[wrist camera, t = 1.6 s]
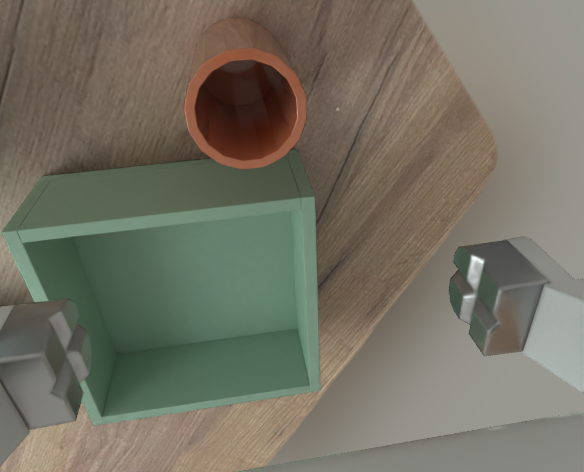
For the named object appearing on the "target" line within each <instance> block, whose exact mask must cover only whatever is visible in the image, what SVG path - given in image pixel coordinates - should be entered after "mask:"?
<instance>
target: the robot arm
mask: <svg viewBox="0 0 584 472" xmlns="http://www.w3.org/2000/svg"><path fill="white" fill-rule="evenodd" d="M453 262H454V264H455V265H456V267H457V268H458V270H457V272H456V273H455V274H454V275H453V276H452V277H451V279H450V286H449V295H450V302H451V305H452V307H453V310H454V312H455V313H456V315H457V316H458V318H459V319H460V320H462V321H464V322H466V323H468V324H469V325H470V330H469V335H470V336H471V338H472V339H473V341H474V342H475V343H476V345H477V347H478V348H479V349H480V351H481V352H482V354H483V355H484V356H491V355H498V354H505V353H513V352H521V351H523V354H525V355H526V356H528V357H529V358H531V359H532V360H534V361H535V362H537V363H538V364H540V365H541V366H543V367H544V368H546V369H547V370H549V371H550V372H552V373H554V374H555V375H557V376H558V377H560V378H561V379H563V380H564V381H566V382H567V383H569V384H570V385H572V386H573V387H575V388H576V389H578V390H580V391H581V392H582V393H584V279H576V280H575V279H574V278H573V277H572V276H571V275H570V274H569V273H567V271H566V270H564V269H563V268H562V267H561V266H560V265H559V264H558V263H557V262H556V261H555V260H553V259H552V258H551V257H550V256H549V255H548V254H547V253H546V252H545V251H544V250H543V249H541V248H540V247H539V246H538V245H537V244H536V243H535V242H534V241H533V240H532V239H530V238H527V237H518V238H512V239H505V240H502V241H497V242H490V243H483V244H475V245H468V246H462V247H458V248H457V250H456V252H455V255H454V261H453ZM79 315H80V312H79V310H78V308H77V306H76V304H75V302H74V301H73V300H71V299H60V300H51V301H43V302H34V303H25V304H18V305H9V306H1V307H0V466H1V465H2V464H3V463H4V461H5V460H6V459H7V458H8V457H9V456H10V454H11V453H12V452H13V451H14V450H15V449H16V448H17V446H18V445H19V444H20V443H21V442H22V441H23V440H24V438H25V437H26V436H27V435H28V434H29V433H30V431H29V430H31V429H37V428H42V427H47V426H53V425H58V424H64V423H69V422H74V421H76V418H77V415H78V411H79V408H80V404H81V401H82V397H83V394H84V392H83V390H82V388H81V385H80V383H81V382H82V381H83V380H84V379H85V378H86V377H87V376H88V375H89V372H90V368H91V364H92V346H91V341H90V337H89V334H88V332H87V329H85V328H83V327H82V326H80V325H79V324H77V321H78V318H79ZM238 472H584V411H581V412H576V413H569V414H564V415H558V416H553V417H546V418H541V419H535V420H530V421H524V422H518V423H512V424H506V425H501V426H495V427H490V428H484V429H478V430H472V431H467V432H461V433H455V434H449V435H444V436H438V437H433V438H427V439H421V440H415V441H410V442H404V443H399V444H393V445H387V446H381V447H376V448H370V449H365V450H358V451H353V452H347V453H341V454H335V455H330V456H324V457H318V458H313V459H307V460H302V461H295V462H290V463H284V464H278V465H273V466H267V467H261V468H255V469H249V470H244V471H238Z"/></svg>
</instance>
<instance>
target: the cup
mask: <svg viewBox="0 0 584 472" xmlns="http://www.w3.org/2000/svg"><path fill="white" fill-rule="evenodd" d="M184 111H185V117H186V122H187V127H188V130H189V133H190V134H191V136H192V137H193V139H194V140H195V142H196V143H197V145H198V147H199V148H200V149H201V150H202V151H203V152H204V153H205V154H207V155H208V156H210V157H211V158H212V159H214V160H215V161H217V162H218V163H220V164H223V165H227V166H230V167H234V168H238V169H251V168H260V167H265V166H267V165H269V164H271V163H273V162H275V161H277V160H279V159H281V158H283V157H284V156H285V155H286V154H287V153H288V152H289V151H290V150H291V149H292V148H293V146H294V145H295V144H296V143H297V142H298V141H299V139H300V136H301V134H302V131H303V128H304V126H305V123H306V120H307V119H306V118H307V103H306V94H305V91H304V89H303V87H302V85H301V83H300V81H299V78H298V76H297V74H296V72H295V71H294V69H293V67H292V66H291V64H290V63H289V61H288V59H287V58H286V56H285V54H284V53H283V51H282V49H281V48H280V46H279V45H278V43H277V41H276V40H275V38H274V37H273V36H272V35H271V34H270V33H269V32H268V31H267V30H266V29H265V28H264V27H263V26H261V25H260V24H258V23H256V22H254V21H252V20H249V19H245V18H227V19H223V20H220V21H218V22H216V23H214V24H213V25H211V26H210V27H209V28H208V29H206V30H205V32H204V33H203V34H202V35H201V37H200V38H199V40H198V42H197V43H196V46H195V50H194V55H193V59H192V64H191V69H190V75H189V80H188V86H187V91H186V97H185V103H184Z"/></svg>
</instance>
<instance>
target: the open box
mask: <svg viewBox="0 0 584 472" xmlns="http://www.w3.org/2000/svg"><path fill="white" fill-rule="evenodd" d="M1 233H2V235H3V237H4V239H5V241H6V244H7V246H8V248H9V250H10V252H11V254H12V256H13V258H14V260H15V262H16V264H17V266H18V269H19V271H20V273H21V275H22V277H23V279H24V281H25V283H26V285H27V287H28V289H29V292H30V294H31V296H32V298H33V300H34V302H43V301H51V300H60V299H71V300H73V301H74V302H75V304H76V306H77V308H78V310H79V312H80V315H79V318H78V321H77V324H79V325H80V326H82V327H83V328H85V329H87V332H88V334H89V337H90V341H91V346H92V364H91V368H90V372H89V375H88V376H87V377H86V378H85V379H84V380H83V381H82V382H81V383H80V385H81V388H82V390H83V392H84V394H83V397H82V402H83V404H84V406H85V408H86V411H87V413H88V415H89V417H90V419H91V421H92V423H93V425H94V426H95V425H101V424H108V423H114V422H121V421H127V420H134V419H140V418H147V417H153V416H160V415H166V414H173V413H179V412H186V411H192V410H199V409H205V408H212V407H218V406H225V405H231V404H238V403H244V402H250V401H257V400H263V399H270V398H276V397H283V396H289V395H296V394H302V393H309V392H315V391H320V355H319V318H318V282H317V246H316V210H315V195H314V192H313V190H312V187H311V185H310V182H309V180H308V177H307V175H306V172H305V169H304V167H303V164H302V162H301V159H300V157H299V154H298V152H297V150H290V151H289V152H288V153H287V154H286V155H285V156H284V157H283V158H281V159H279V160H277V161H275V162H273V163H271V164H269V165H267V166H265V167H260V168H251V169H238V168H234V167H230V166H227V165H223V164H220V163H218V162H217V161H215V160H214V159H212V158H211V159H202V160H192V161H183V162H173V163H164V164H154V165H145V166H135V167H126V168H116V169H107V170H98V171H88V172H79V173H69V174H60V175H50V176H42V177H41V178H40V180H39V181H38V182H37V184H36V185H35V187H34V188H33V189H32V191H31V192H30V193H29V195H28V196H27V198H26V199H25V200H24V202H23V203H22V204H21V206H20V207H19V209H18V210H17V211H16V213H15V214H14V216H13V217H12V218H11V220H10V221H9V222H8V224H7V225H6V227H5V228H4V229H3V231H2V232H1Z"/></svg>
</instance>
